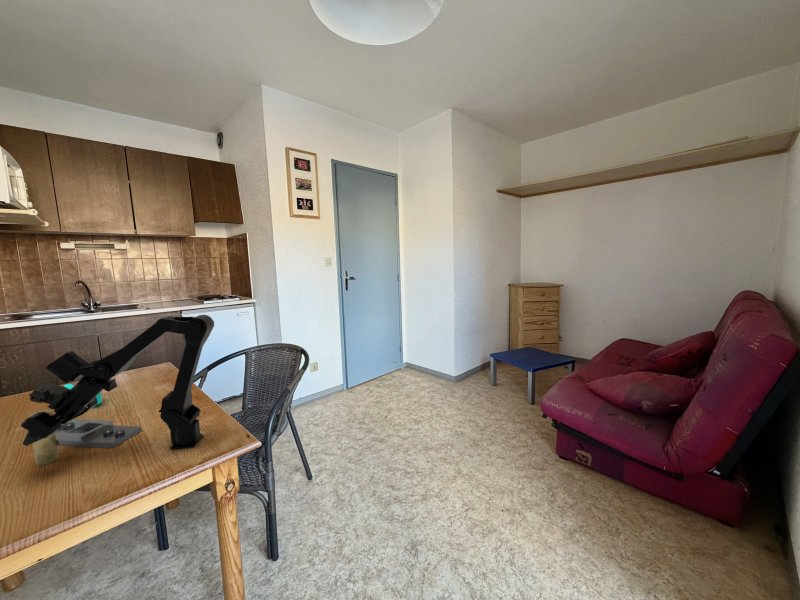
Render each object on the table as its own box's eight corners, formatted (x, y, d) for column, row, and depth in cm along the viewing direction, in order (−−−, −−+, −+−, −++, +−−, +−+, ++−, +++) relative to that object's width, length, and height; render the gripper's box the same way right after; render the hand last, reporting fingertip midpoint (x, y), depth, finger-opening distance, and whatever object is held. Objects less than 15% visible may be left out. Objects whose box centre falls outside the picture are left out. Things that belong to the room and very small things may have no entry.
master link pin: (63, 455, 90) (56, 408, 88) (50, 464, 86) (42, 415, 84) (45, 457, 89) (38, 410, 88) (31, 466, 85) (23, 417, 83)
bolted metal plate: (141, 431, 103) (140, 419, 102) (112, 448, 93) (110, 435, 93) (76, 427, 105) (74, 416, 105) (41, 444, 96) (39, 431, 95)
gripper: (80, 363, 95) (39, 403, 93) (25, 387, 77) (-27, 436, 75) (114, 386, 98) (75, 425, 96) (69, 414, 80) (20, 462, 78)
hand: (39, 435), depth 86 cm, fingers open, 9 cm apart
